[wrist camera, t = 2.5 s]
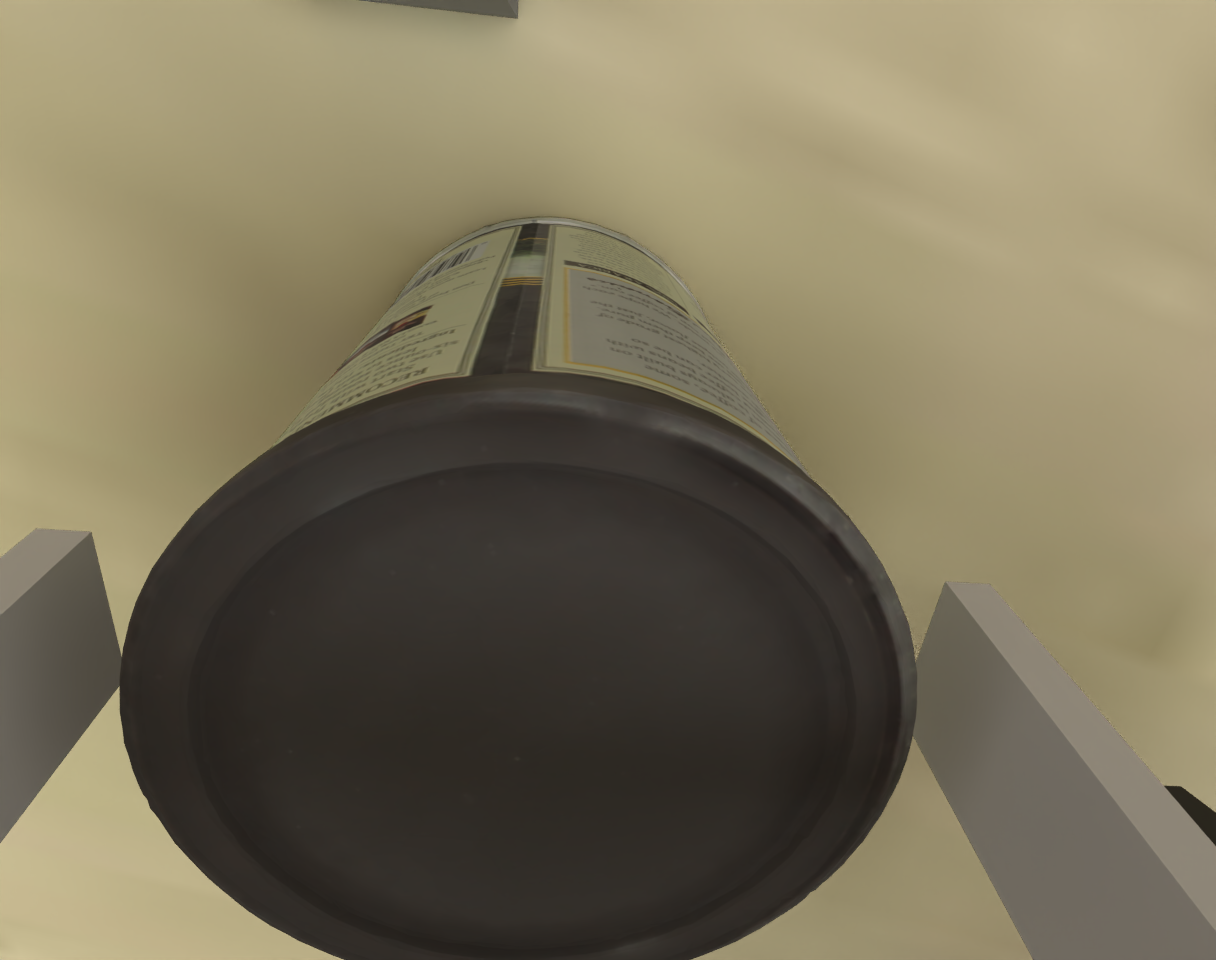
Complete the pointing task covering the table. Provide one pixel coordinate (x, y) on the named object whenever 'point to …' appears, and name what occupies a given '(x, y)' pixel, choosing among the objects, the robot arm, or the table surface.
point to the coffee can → (522, 635)
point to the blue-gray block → (464, 6)
